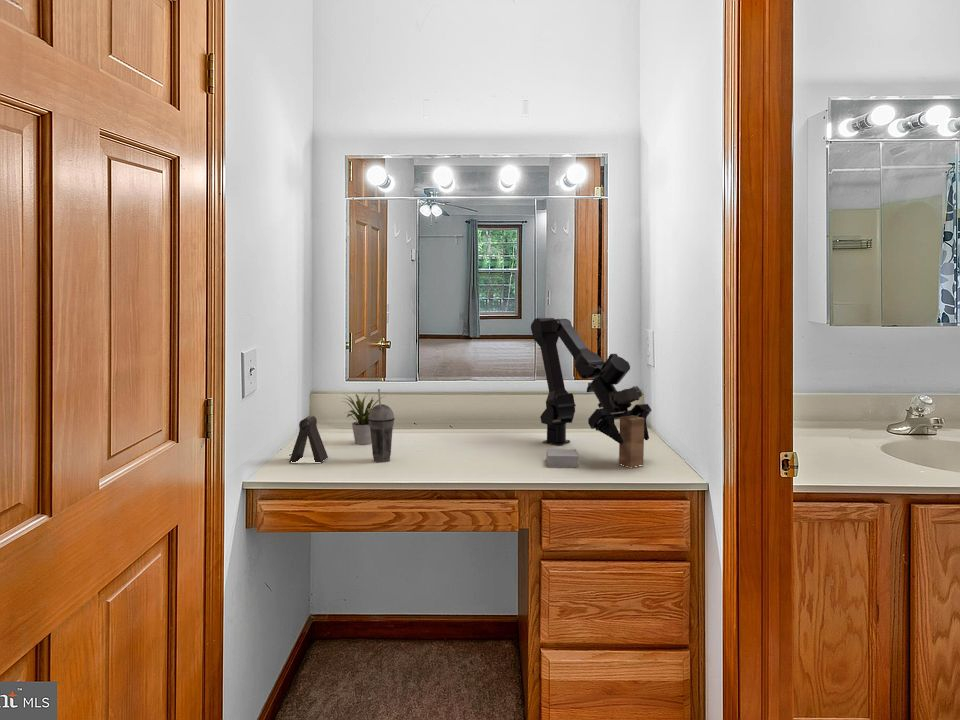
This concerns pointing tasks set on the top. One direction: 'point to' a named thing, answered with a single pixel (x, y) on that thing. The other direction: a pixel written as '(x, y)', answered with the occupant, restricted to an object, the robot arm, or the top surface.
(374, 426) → the beverage cup
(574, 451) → the plinth
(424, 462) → the top surface
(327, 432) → the top surface
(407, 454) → the top surface
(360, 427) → the house plant
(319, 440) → the phone stand
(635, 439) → the walnut block
